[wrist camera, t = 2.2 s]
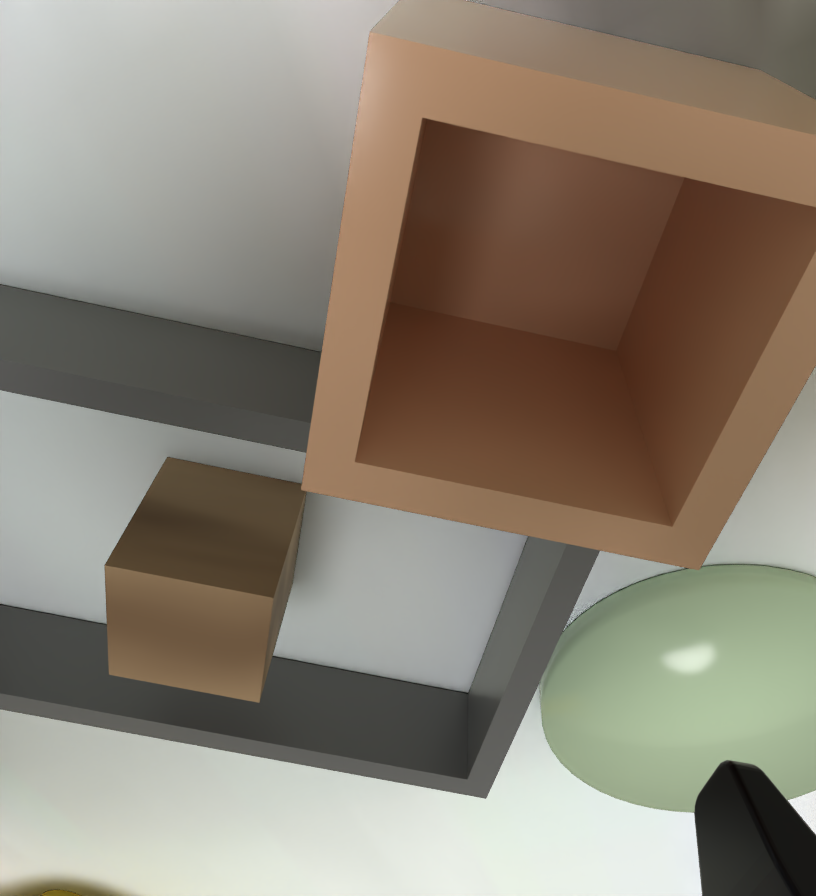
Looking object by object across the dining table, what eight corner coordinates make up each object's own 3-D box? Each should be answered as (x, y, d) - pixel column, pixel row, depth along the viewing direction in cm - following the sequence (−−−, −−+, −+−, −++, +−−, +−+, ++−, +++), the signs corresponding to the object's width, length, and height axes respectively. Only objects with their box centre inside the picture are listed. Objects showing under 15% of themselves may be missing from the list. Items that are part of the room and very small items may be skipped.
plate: (789, 809, 29) (799, 835, 28) (502, 755, 28) (502, 780, 27) (967, 606, 23) (986, 631, 22) (603, 531, 22) (608, 556, 21)
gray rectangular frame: (485, 712, 27) (486, 798, 24) (-54, 610, 26) (-114, 688, 23) (608, 412, 20) (628, 488, 17) (-127, 257, 19) (-225, 312, 16)
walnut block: (292, 583, 24) (259, 702, 21) (165, 558, 24) (108, 674, 20) (307, 483, 22) (273, 597, 18) (168, 455, 22) (104, 565, 18)
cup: (632, 374, 19) (698, 570, 13) (354, 315, 19) (300, 490, 13) (760, 69, 15) (930, 162, 9) (411, -13, 15) (369, 30, 9)
